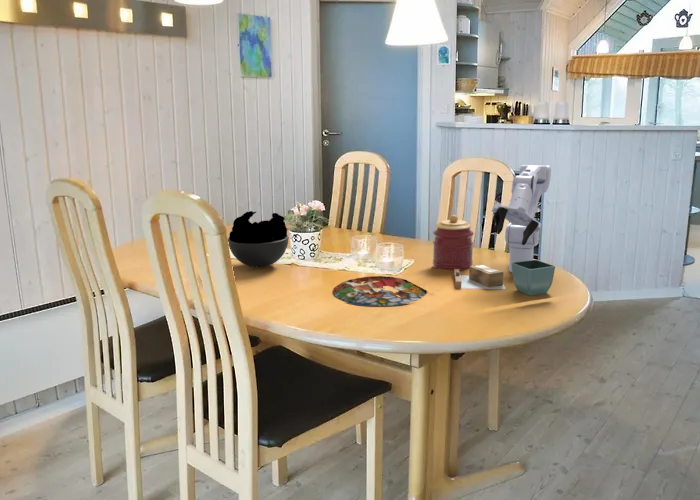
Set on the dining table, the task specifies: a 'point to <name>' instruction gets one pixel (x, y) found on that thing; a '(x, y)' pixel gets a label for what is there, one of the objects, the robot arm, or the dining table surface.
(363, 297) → the decorative plaque
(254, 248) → the coal bowl
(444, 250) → the canister
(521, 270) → the flower pot
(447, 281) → the dining table surface
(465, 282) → the wall panel
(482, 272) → the frame
